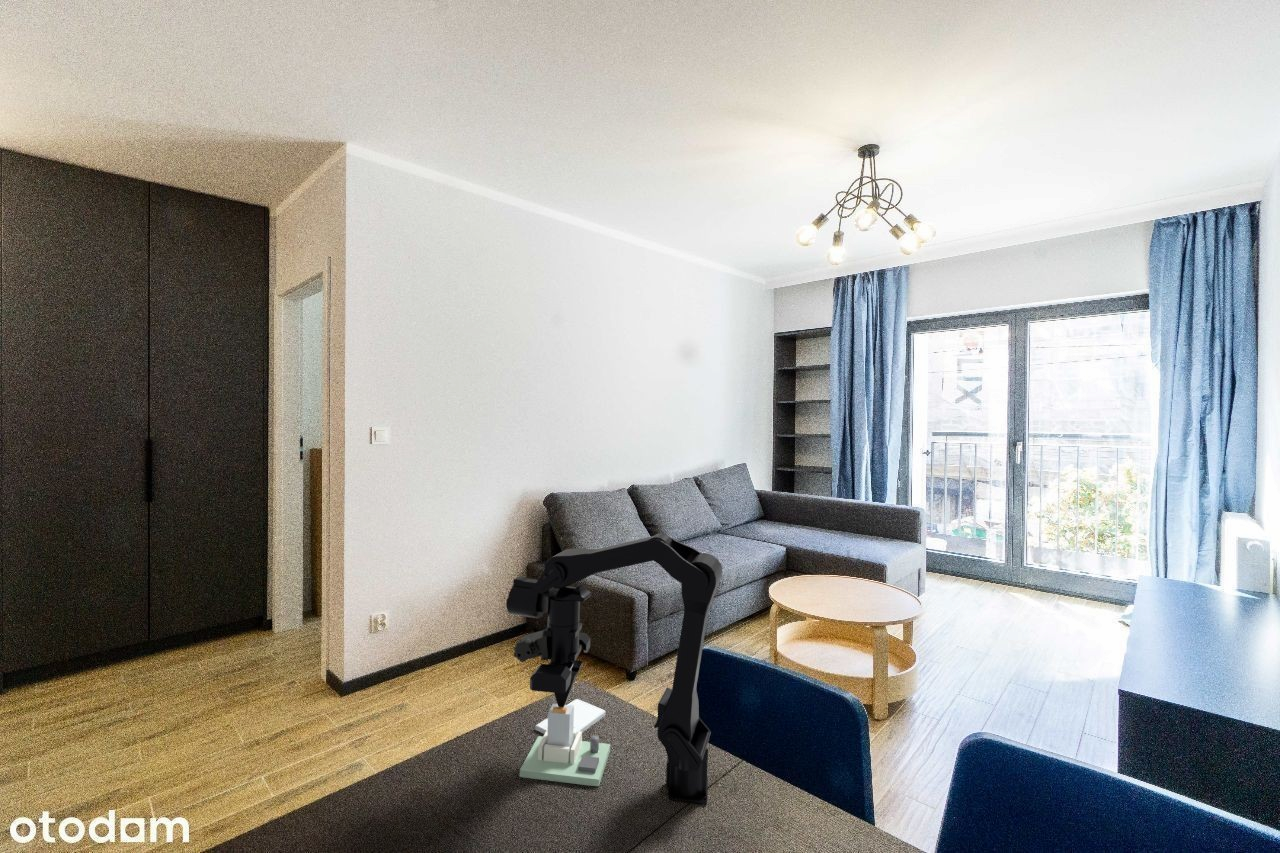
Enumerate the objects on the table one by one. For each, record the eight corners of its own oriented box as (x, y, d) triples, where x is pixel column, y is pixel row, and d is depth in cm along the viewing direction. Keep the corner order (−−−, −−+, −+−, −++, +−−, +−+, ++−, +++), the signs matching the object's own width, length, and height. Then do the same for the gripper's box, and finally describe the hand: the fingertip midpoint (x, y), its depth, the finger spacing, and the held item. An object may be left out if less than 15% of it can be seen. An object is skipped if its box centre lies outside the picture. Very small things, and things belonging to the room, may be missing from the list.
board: (610, 750, 101) (610, 730, 101) (598, 786, 91) (599, 765, 91) (538, 742, 103) (538, 723, 103) (519, 776, 93) (520, 755, 93)
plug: (572, 748, 99) (574, 702, 99) (568, 758, 96) (569, 711, 96) (551, 746, 100) (553, 700, 100) (547, 756, 97) (548, 708, 97)
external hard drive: (605, 718, 113) (565, 747, 102) (575, 705, 117) (534, 732, 107) (605, 710, 113) (566, 739, 102) (575, 698, 117) (535, 724, 107)
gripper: (537, 600, 108) (535, 677, 108) (501, 638, 89) (499, 731, 90) (591, 604, 106) (589, 682, 107) (566, 643, 88) (563, 738, 88)
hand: (561, 706), depth 98 cm, fingers closed
